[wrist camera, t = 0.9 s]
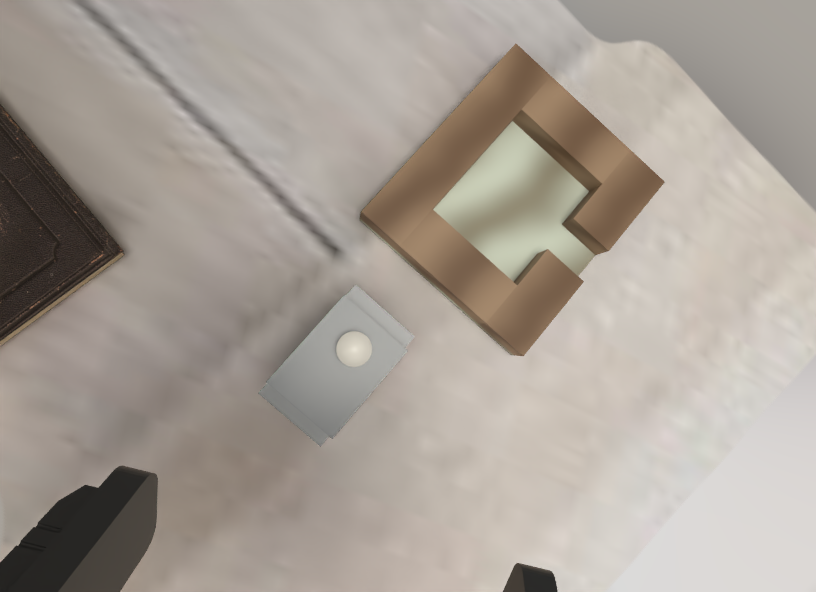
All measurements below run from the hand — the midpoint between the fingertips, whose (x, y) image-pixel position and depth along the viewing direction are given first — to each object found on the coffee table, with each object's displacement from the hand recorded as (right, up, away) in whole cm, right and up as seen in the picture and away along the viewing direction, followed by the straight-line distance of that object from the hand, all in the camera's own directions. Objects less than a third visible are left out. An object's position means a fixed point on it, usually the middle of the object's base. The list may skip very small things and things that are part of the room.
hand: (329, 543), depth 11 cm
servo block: (-3, +1, +26) cm, 26 cm away
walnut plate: (+9, +12, +28) cm, 32 cm away
